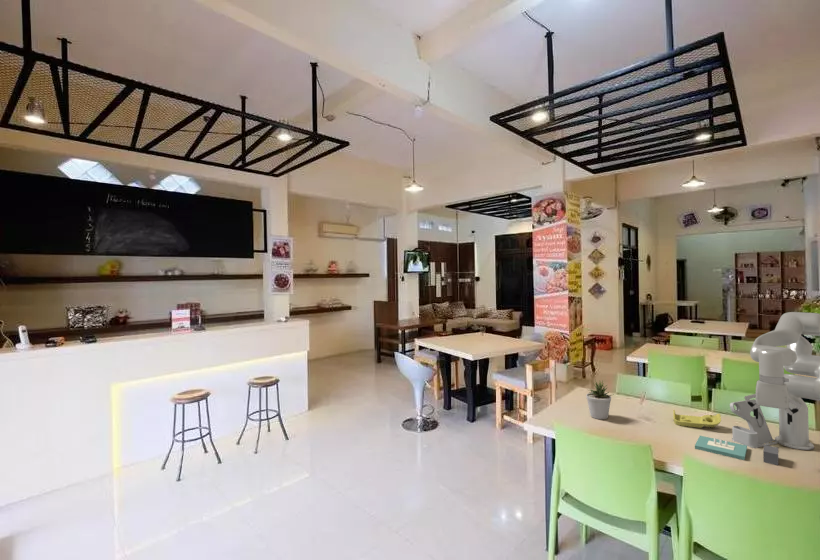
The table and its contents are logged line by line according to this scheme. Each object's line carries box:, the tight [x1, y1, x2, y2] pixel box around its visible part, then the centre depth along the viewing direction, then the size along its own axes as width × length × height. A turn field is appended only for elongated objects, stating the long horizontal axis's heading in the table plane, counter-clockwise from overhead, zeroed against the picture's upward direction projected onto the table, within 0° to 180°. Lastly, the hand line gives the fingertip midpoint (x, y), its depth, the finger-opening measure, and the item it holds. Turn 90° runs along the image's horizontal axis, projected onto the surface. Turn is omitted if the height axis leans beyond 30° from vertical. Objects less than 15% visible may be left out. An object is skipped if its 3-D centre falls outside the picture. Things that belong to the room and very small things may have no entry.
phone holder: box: [729, 398, 779, 449], centre depth 180 cm, size 17×10×18 cm, turn 105°
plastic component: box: [672, 409, 722, 429], centre depth 200 cm, size 20×7×10 cm
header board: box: [694, 435, 748, 461], centre depth 174 cm, size 14×17×4 cm
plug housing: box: [762, 445, 779, 466], centre depth 162 cm, size 4×8×4 cm, turn 136°
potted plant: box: [585, 379, 614, 420], centre depth 216 cm, size 13×14×20 cm
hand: (772, 420), depth 160 cm, fingers open, 9 cm apart
